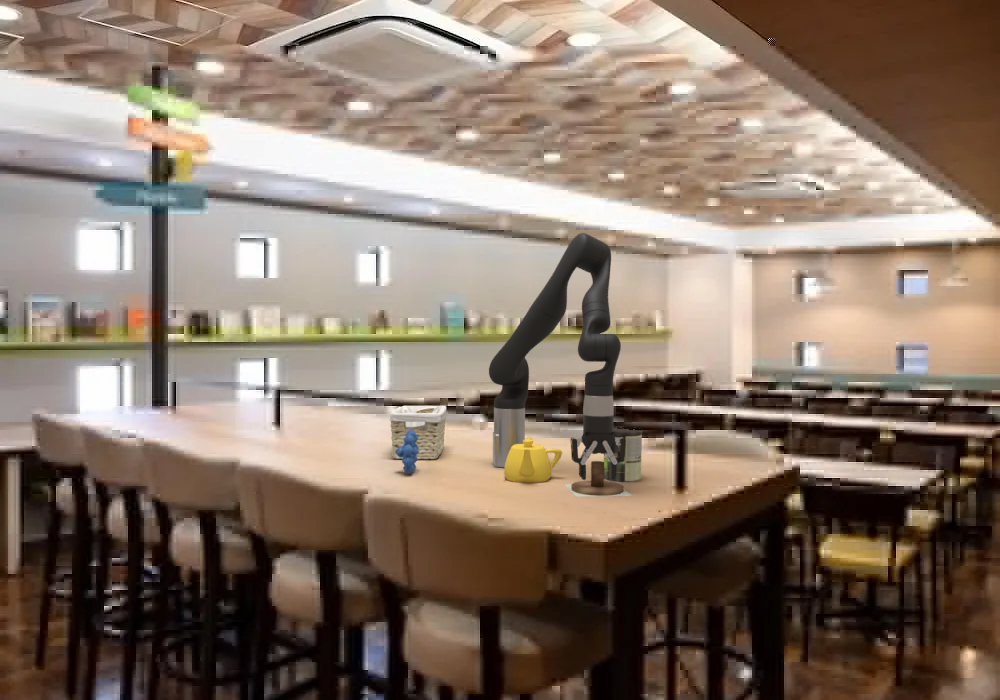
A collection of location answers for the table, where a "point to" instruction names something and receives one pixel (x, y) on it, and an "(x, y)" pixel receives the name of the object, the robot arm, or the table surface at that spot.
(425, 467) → the table surface
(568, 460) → the table surface
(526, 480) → the teapot
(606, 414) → the robot arm
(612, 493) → the lid
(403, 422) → the storage basket
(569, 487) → the mat
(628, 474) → the coffee can
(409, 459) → the grapes
